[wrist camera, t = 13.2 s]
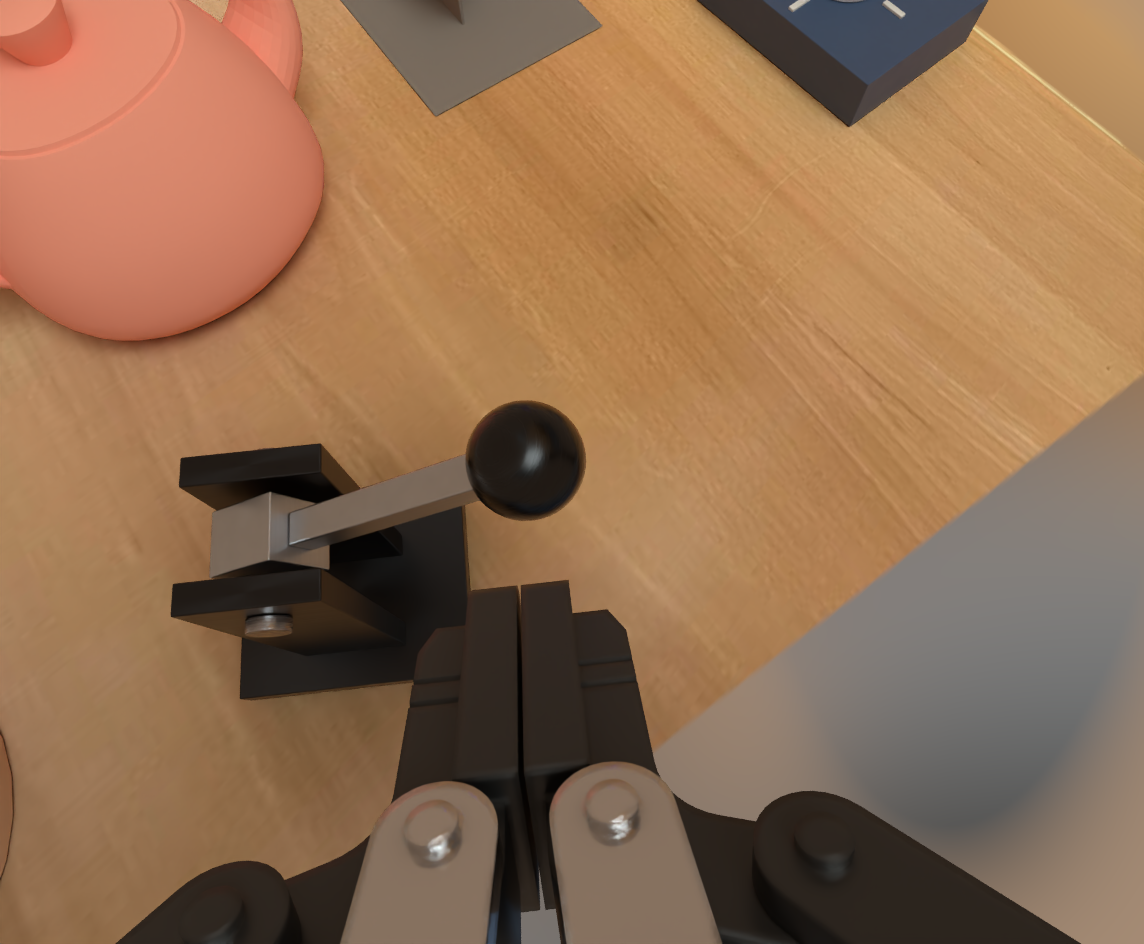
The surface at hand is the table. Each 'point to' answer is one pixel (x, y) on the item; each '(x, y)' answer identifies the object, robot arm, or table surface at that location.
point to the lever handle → (411, 495)
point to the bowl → (5, 805)
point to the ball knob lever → (326, 584)
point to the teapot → (150, 159)
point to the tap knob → (849, 0)
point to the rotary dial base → (851, 43)
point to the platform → (468, 40)
